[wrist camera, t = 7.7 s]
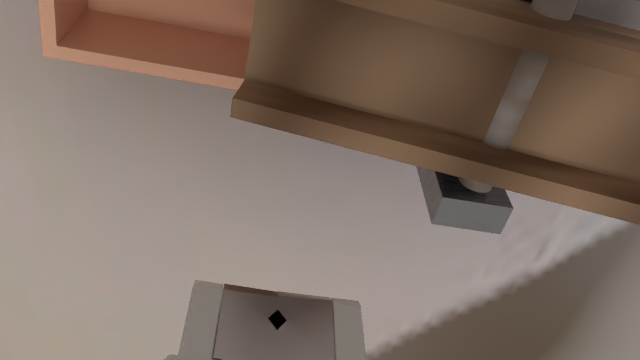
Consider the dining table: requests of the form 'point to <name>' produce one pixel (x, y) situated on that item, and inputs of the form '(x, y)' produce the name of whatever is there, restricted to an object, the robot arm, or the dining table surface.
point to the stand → (464, 202)
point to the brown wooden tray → (459, 91)
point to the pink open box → (153, 37)
